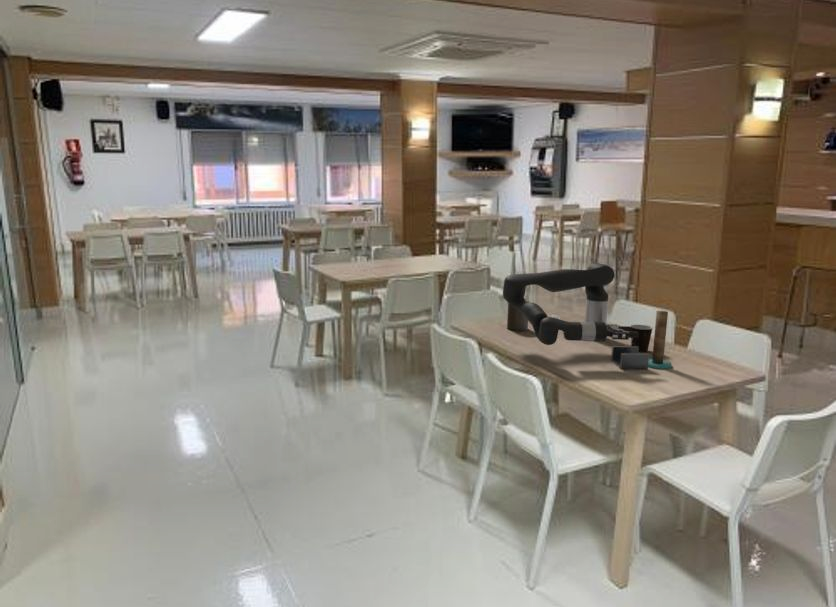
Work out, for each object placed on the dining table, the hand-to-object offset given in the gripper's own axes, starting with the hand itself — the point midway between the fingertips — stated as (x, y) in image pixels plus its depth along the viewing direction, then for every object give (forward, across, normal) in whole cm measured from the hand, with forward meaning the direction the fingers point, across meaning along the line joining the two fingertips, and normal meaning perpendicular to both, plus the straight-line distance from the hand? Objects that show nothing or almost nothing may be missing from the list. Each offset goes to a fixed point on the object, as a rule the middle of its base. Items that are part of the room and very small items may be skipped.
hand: (634, 332), depth 242 cm
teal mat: (+10, 0, +13) cm, 16 cm away
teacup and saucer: (-14, +73, +14) cm, 76 cm away
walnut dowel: (+10, 0, +12) cm, 16 cm away
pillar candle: (-34, +57, +13) cm, 68 cm away
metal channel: (-1, 0, +13) cm, 13 cm away
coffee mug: (+10, +20, +13) cm, 26 cm away
